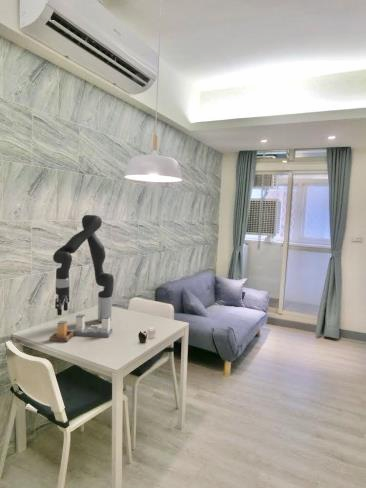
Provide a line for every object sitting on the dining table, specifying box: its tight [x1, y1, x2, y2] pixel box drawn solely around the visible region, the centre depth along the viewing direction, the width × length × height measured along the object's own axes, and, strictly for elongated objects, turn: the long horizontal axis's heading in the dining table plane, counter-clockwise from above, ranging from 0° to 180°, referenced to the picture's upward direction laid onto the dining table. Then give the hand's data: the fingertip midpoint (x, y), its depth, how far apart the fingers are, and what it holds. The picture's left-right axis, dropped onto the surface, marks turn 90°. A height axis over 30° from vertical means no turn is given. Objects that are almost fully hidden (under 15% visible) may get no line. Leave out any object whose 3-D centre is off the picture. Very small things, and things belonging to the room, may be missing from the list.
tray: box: [49, 330, 75, 343], centre depth 189 cm, size 10×10×2 cm
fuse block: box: [73, 313, 113, 338], centre depth 198 cm, size 9×22×11 cm, turn 88°
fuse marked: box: [57, 320, 68, 337], centre depth 189 cm, size 4×4×9 cm
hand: (62, 312), depth 188 cm, fingers open, 8 cm apart
